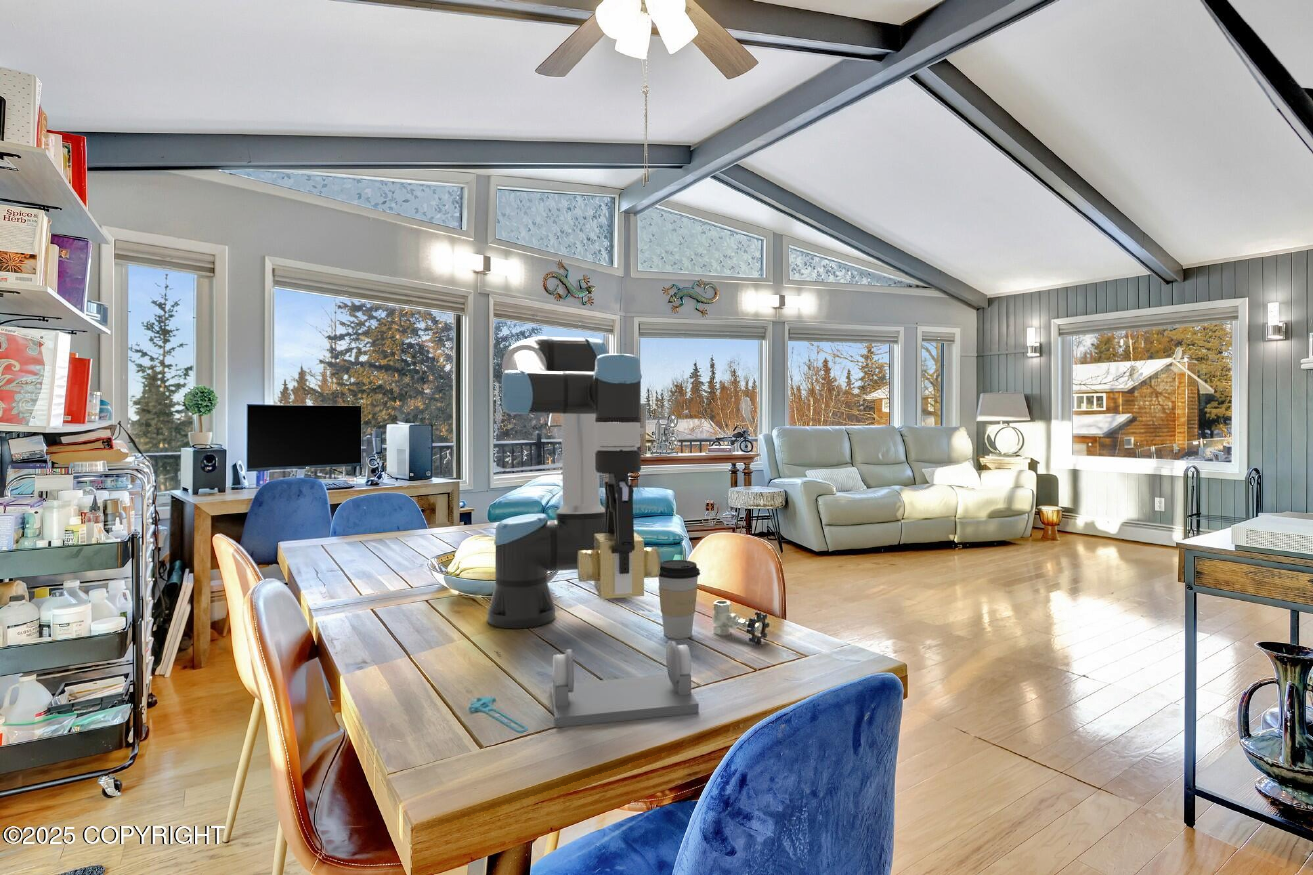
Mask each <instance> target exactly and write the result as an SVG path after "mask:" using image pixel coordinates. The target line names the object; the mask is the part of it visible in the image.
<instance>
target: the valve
mask: <svg viewBox="0 0 1313 875" xmlns="http://www.w3.org/2000/svg"><path fill="white" fill-rule="evenodd" d="M731 606H732V604H731V601H729V600H724V599H723V600H722V599H720V600H715V601H714V602H713V613H712V618H711V619H712V622H713V634H715V635H719V636H727V635H730V634H731V629H734V630H735V629H737V628H738V627H739V628H741V629H746V630H745V631H746V634H749V635H751V637H748V642H749V643H752V644H757V645H761V644H762V638H763V639H767V637H768V633H767V632H766V630H767V629H769V628H770V623H769V622H767V621H766V620H767V618H768V614H767V613H765V612H764V613H762V612H761V611H758V610H756V611H755V613H754V615H755V617H749V618H748V620H747V619H745V618H744V619H743V618H741V617H740V615H739V614H737V613H732V612H731ZM760 623H761V624H760ZM756 633H759V634H758V635H756Z"/></svg>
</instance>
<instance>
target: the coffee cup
mask: <svg viewBox="0 0 1313 875" xmlns="http://www.w3.org/2000/svg"><path fill="white" fill-rule="evenodd" d="M700 571H701V570H700V568H699V567H698V565H697V563H696V562H695V561H691V560H687V559H686V560H685V559H669V560H663V561H660V574H659V577H657V578H658V596H659V604H660V613H661V618H662V630H663V635H664V636H665V637H666V638H669V639H672V640H682V639H683V640H684V639H688V638H691V637H692V635H693V628H694V618H695V613H696V605H697V604H696V603H697V596H698V578H699V577H700V575H701V572H700Z"/></svg>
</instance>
